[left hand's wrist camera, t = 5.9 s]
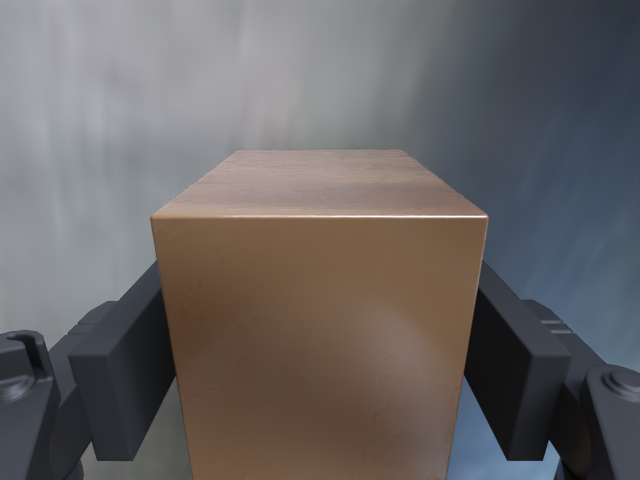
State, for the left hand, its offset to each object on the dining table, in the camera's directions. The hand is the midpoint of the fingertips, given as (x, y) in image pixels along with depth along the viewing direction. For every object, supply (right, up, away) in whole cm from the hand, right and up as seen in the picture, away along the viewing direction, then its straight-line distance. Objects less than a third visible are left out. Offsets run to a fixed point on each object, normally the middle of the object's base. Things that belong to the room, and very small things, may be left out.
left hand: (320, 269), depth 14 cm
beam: (0, -19, +9) cm, 21 cm away
